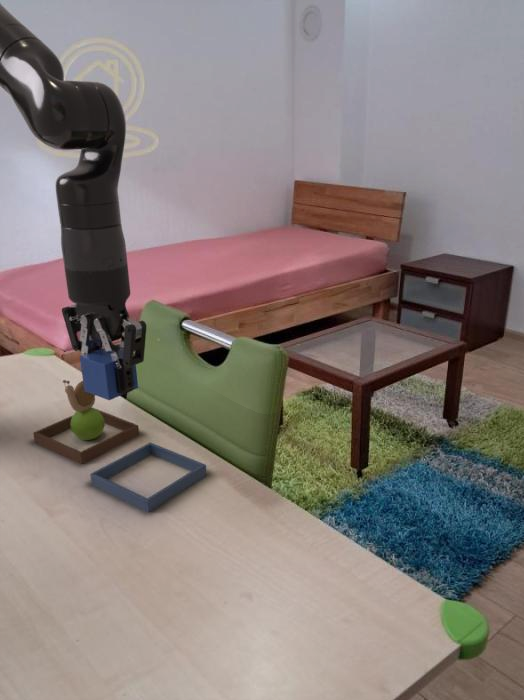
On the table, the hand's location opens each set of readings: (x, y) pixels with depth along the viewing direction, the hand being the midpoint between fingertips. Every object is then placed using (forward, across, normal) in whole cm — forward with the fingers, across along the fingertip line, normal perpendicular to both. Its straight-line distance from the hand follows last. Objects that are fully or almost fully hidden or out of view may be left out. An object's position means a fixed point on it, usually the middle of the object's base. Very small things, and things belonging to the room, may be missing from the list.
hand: (111, 386), depth 85 cm
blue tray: (+17, -1, -4) cm, 18 cm away
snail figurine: (+17, +17, -7) cm, 25 cm away
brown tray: (+17, +17, -7) cm, 26 cm away
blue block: (0, 0, 0) cm, 0 cm away
